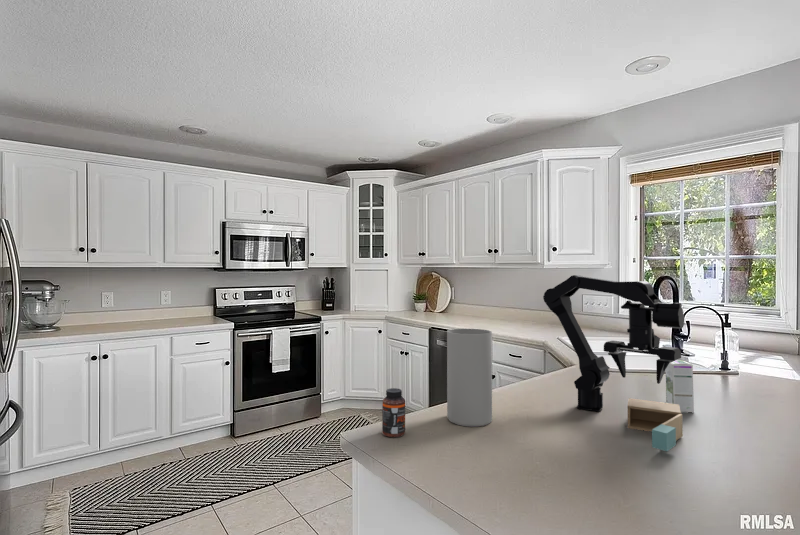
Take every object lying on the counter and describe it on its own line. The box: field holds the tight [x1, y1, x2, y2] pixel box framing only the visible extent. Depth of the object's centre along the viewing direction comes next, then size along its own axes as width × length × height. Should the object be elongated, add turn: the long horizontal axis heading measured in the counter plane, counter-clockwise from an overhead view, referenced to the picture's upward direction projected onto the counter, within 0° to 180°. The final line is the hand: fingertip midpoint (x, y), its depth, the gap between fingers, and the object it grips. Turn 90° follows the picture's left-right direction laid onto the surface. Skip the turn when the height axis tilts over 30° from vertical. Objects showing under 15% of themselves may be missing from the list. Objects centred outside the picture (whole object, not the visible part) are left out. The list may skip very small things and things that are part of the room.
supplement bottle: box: [381, 387, 406, 438], centre depth 111 cm, size 6×6×11 cm
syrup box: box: [665, 359, 695, 414], centre depth 131 cm, size 6×6×14 cm
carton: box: [627, 397, 682, 432], centre depth 116 cm, size 12×8×6 cm, turn 60°
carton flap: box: [651, 413, 684, 452], centre depth 102 cm, size 18×3×6 cm, turn 129°
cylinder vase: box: [446, 328, 493, 428], centre depth 122 cm, size 12×12×25 cm
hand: (640, 380), depth 123 cm, fingers open, 9 cm apart
